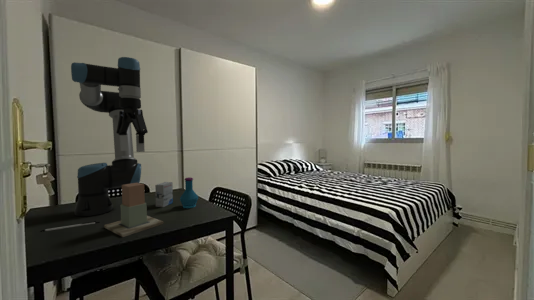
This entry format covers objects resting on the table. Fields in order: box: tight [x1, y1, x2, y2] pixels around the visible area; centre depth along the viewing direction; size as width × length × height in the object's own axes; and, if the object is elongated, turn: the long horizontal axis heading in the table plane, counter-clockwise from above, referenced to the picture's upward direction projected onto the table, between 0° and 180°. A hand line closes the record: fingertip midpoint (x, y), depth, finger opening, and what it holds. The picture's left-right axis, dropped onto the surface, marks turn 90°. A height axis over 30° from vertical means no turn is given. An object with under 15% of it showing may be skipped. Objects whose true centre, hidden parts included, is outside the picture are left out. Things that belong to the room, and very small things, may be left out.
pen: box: [39, 220, 101, 233], centre depth 96 cm, size 1×19×1 cm, turn 121°
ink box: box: [154, 181, 174, 208], centre depth 126 cm, size 9×5×12 cm, turn 168°
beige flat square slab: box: [103, 215, 164, 238], centre depth 97 cm, size 16×16×1 cm
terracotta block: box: [121, 182, 146, 207], centre depth 96 cm, size 6×6×8 cm
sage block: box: [120, 202, 148, 228], centre depth 97 cm, size 7×7×8 cm
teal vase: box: [179, 177, 199, 209], centre depth 123 cm, size 9×9×15 cm
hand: (131, 151), depth 95 cm, fingers open, 13 cm apart
